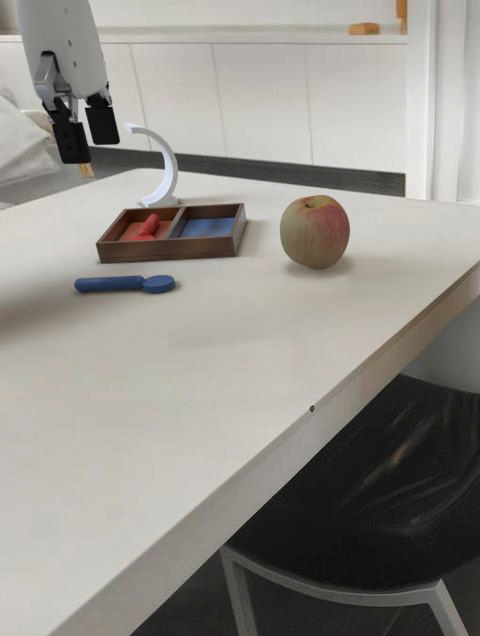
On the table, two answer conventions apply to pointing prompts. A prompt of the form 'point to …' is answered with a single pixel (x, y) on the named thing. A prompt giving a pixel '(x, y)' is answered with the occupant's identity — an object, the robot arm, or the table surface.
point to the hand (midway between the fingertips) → (93, 153)
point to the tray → (175, 233)
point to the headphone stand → (168, 184)
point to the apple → (315, 231)
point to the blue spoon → (126, 283)
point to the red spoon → (147, 228)
